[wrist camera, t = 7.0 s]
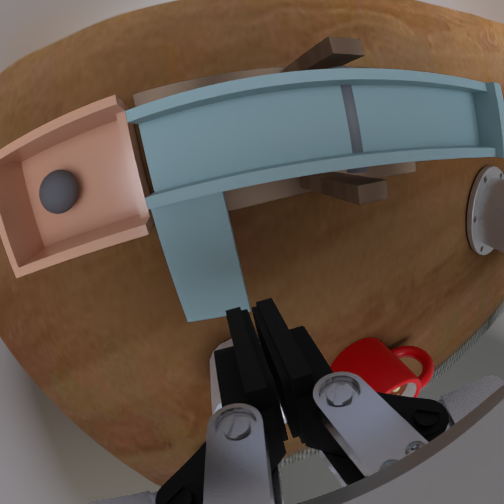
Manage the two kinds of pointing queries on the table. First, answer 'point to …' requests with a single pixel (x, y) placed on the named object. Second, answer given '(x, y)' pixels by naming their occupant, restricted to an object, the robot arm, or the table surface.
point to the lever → (291, 152)
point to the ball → (58, 191)
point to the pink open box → (89, 181)
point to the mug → (385, 366)
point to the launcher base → (330, 183)
